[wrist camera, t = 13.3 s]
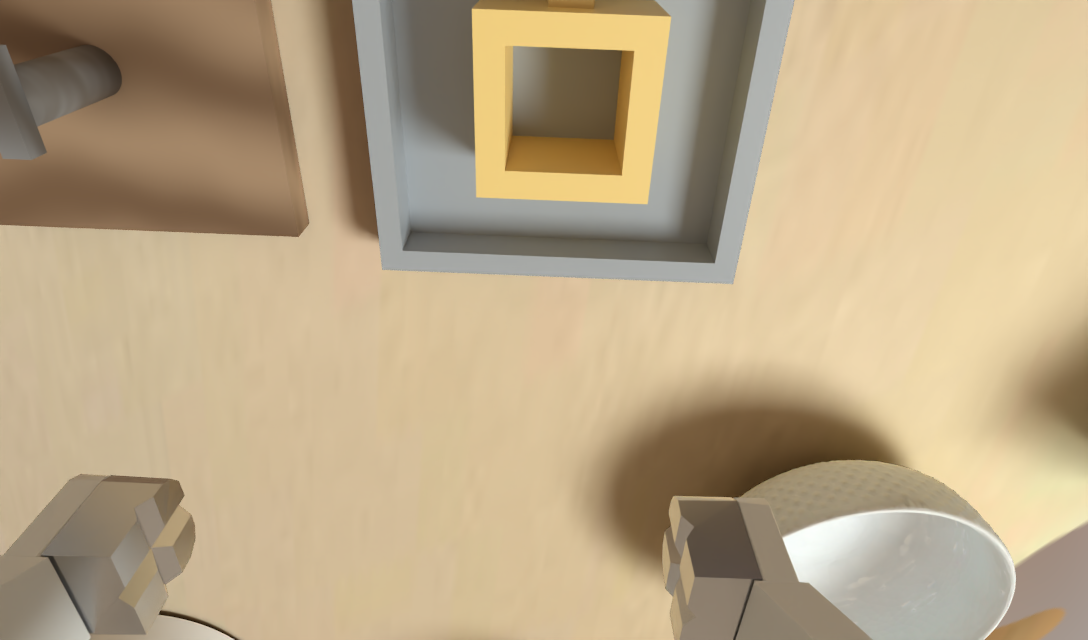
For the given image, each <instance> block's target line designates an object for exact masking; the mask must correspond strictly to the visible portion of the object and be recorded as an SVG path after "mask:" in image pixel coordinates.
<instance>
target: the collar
mask: <svg viewBox="0 0 1088 640" xmlns="http://www.w3.org/2000/svg"><path fill="white" fill-rule="evenodd" d="M670 24H671V16H670V15H669V14H668V13H667V12H666V11H665V10H664V9H663V8H662V7H661V6H660V5H659V4H658V3H657V2H656V1H655V0H479V1H478V2H477V3H476V5H475V6H474V7H473V8H472V39H473V81H474V123H475V166H476V197H478V198H503V199H528V200H553V201H577V202H602V203H627V204H648V197H649V190H650V182H651V174H652V166H653V158H654V150H655V142H656V134H657V126H658V118H659V111H660V103H661V95H662V87H663V79H664V71H665V63H666V55H667V47H668V39H669V32H670ZM513 46H527V47H552V48H577V49H602V50H622V55H621V66H620V77H619V88H618V99H617V110H616V121H615V131H614V140H608V139H584V138H559V137H534V136H513Z"/></svg>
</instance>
